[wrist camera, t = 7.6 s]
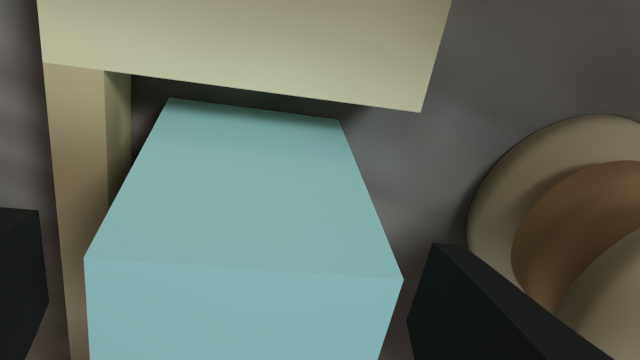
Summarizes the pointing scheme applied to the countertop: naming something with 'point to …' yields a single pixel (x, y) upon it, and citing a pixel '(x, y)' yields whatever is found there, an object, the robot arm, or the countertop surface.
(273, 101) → the countertop surface
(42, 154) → the countertop surface
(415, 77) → the notch board
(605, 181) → the spool
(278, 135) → the pale teal block
